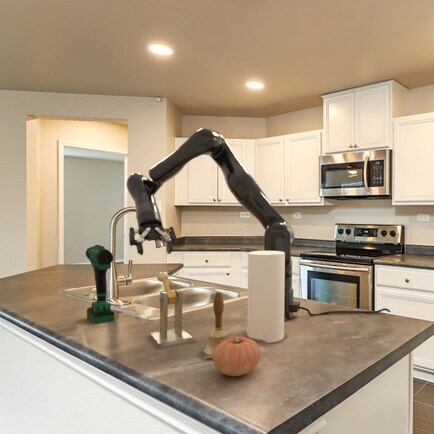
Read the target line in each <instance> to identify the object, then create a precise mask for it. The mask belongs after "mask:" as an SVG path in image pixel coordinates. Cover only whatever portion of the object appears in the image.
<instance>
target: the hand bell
mask: <svg viewBox="0 0 434 434" xmlns="http://www.w3.org/2000/svg"><path fill="white" fill-rule="evenodd" d="M222 295H223V294H222V292H220V291H219V292H216V293H215V295H214V299H213V306H212V307H213V314H214V317H215V322H214V323H215V325H214V330H213V331H212V332H210V333H209V336H208V337H209V338H208V343H207V346H206V348H205V349H204V351H203V352H204V353H205V354H207V355H209V356H211V355H212V357H208V358H207V360H209V361H213V352H214V350H215V348H216V347H217V345H218V344H219V343H221V342H222V341H224V340H227V339H229V336H228V332H227V331H225V330H223V322H222V320H223V313H224V308H225V304H224V303H225V302H224V299H223V296H222Z"/></svg>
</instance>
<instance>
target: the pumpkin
mask: <svg viewBox="0 0 434 434" xmlns="http://www.w3.org/2000/svg"><path fill="white" fill-rule="evenodd" d="M212 357H213V360H212V363H213V366H214V367H215V369H216V371H218V372H219V373H221V374H222V375H225V376H229V377H240V376H244V375H247V374H249V373H251V372H252V371H253V370H255V369H256V368H257V366H258V365H259V363H260V361H261V358H262V352H261V348H260V346H259V344H258V343H257V342H256V341H255V340H254V339H253V338H250V337H245V336H233V337H230V338H229V337H228V339H227V340H224V341H222V342H221V343H219V344H218V345H217V347H216V348H215V350H214V352H213V355H212Z"/></svg>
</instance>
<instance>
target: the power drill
mask: <svg viewBox="0 0 434 434" xmlns="http://www.w3.org/2000/svg"><path fill="white" fill-rule="evenodd" d="M85 256H86V258H87V259H88V260H89V261H90V265H91V267H93V268H92V270H93V273H94V282H95V292H96V301H92V302H91V307H88V308H86V318H87V320H90V321H91V322H92V323H93V324H94V325H96V324H103V323H109V322H115V312H114V311H113V310H112V309H111V303H110V302H108V301H107V296H108V292H107V290H108V285H107V272H108V270H110V269H111V267H112V263H113V261H114V254H113V253H112V252H111V251H110V250H109V249H107V248H105V246H103V245H100V244H94V245H93V246H90V247H88V248H86V250H85Z"/></svg>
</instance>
